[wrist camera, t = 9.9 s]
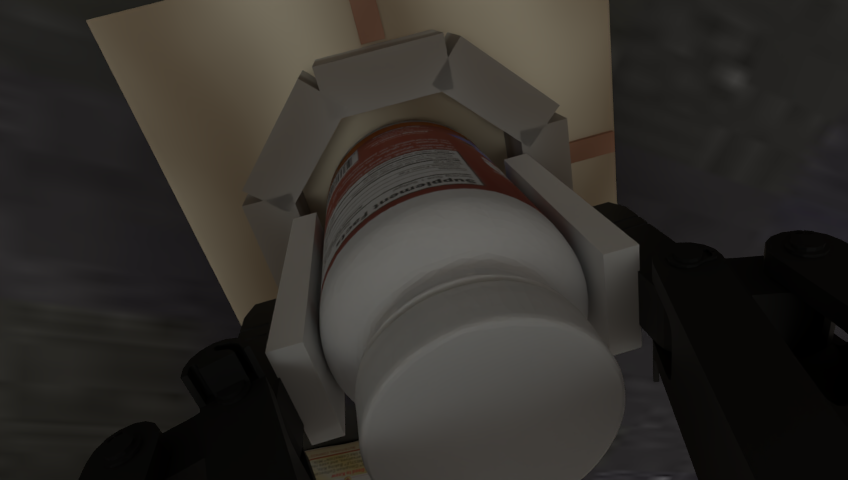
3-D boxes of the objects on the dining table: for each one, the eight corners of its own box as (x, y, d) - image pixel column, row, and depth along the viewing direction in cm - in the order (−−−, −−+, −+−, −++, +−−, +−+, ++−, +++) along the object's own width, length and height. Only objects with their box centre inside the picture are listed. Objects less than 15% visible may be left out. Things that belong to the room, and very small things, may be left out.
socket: (283, 388, 22) (275, 439, 20) (100, 19, 15) (49, 23, 12) (610, 294, 23) (645, 332, 20) (589, -105, 16) (640, -127, 13)
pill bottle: (503, 247, 20) (670, 496, 10) (356, 289, 19) (373, 588, 9) (476, 94, 17) (674, 226, 7) (302, 142, 16) (248, 349, 7)
